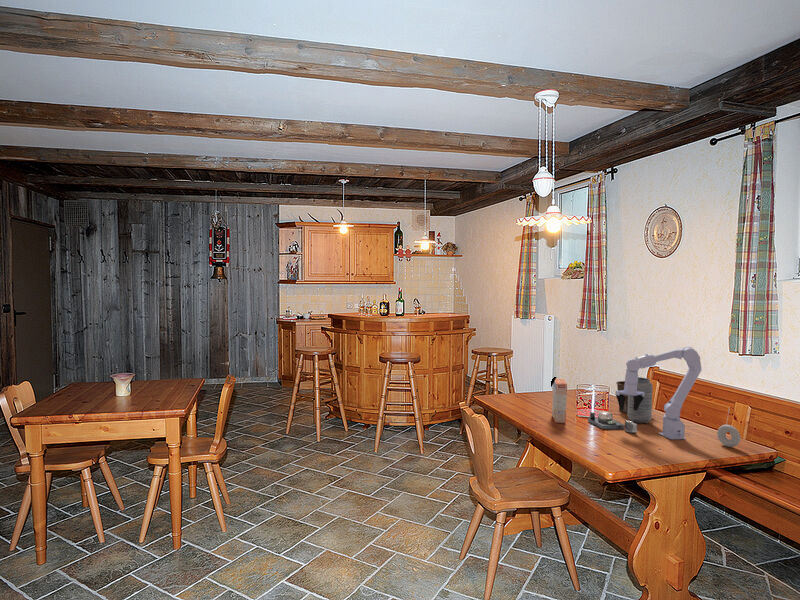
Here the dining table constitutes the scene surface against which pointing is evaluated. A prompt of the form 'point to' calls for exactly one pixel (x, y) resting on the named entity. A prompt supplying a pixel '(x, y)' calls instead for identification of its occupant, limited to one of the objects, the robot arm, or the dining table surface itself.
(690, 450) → the dining table surface
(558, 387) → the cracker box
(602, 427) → the levelling base
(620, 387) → the plant pot
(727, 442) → the donut
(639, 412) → the vase
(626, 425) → the wing knob
